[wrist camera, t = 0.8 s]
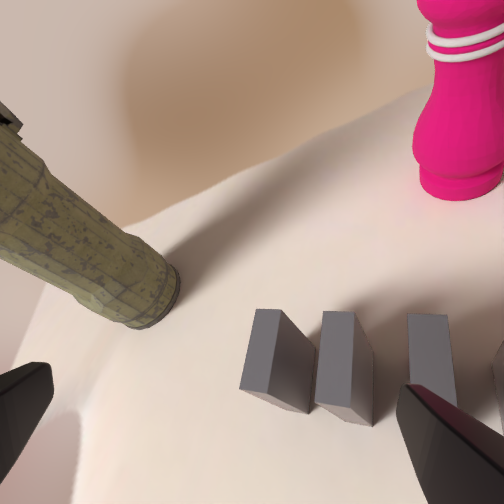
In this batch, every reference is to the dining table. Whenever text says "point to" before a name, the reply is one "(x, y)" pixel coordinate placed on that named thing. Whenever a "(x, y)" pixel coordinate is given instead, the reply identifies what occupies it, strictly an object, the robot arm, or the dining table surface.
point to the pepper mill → (463, 99)
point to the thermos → (76, 241)
